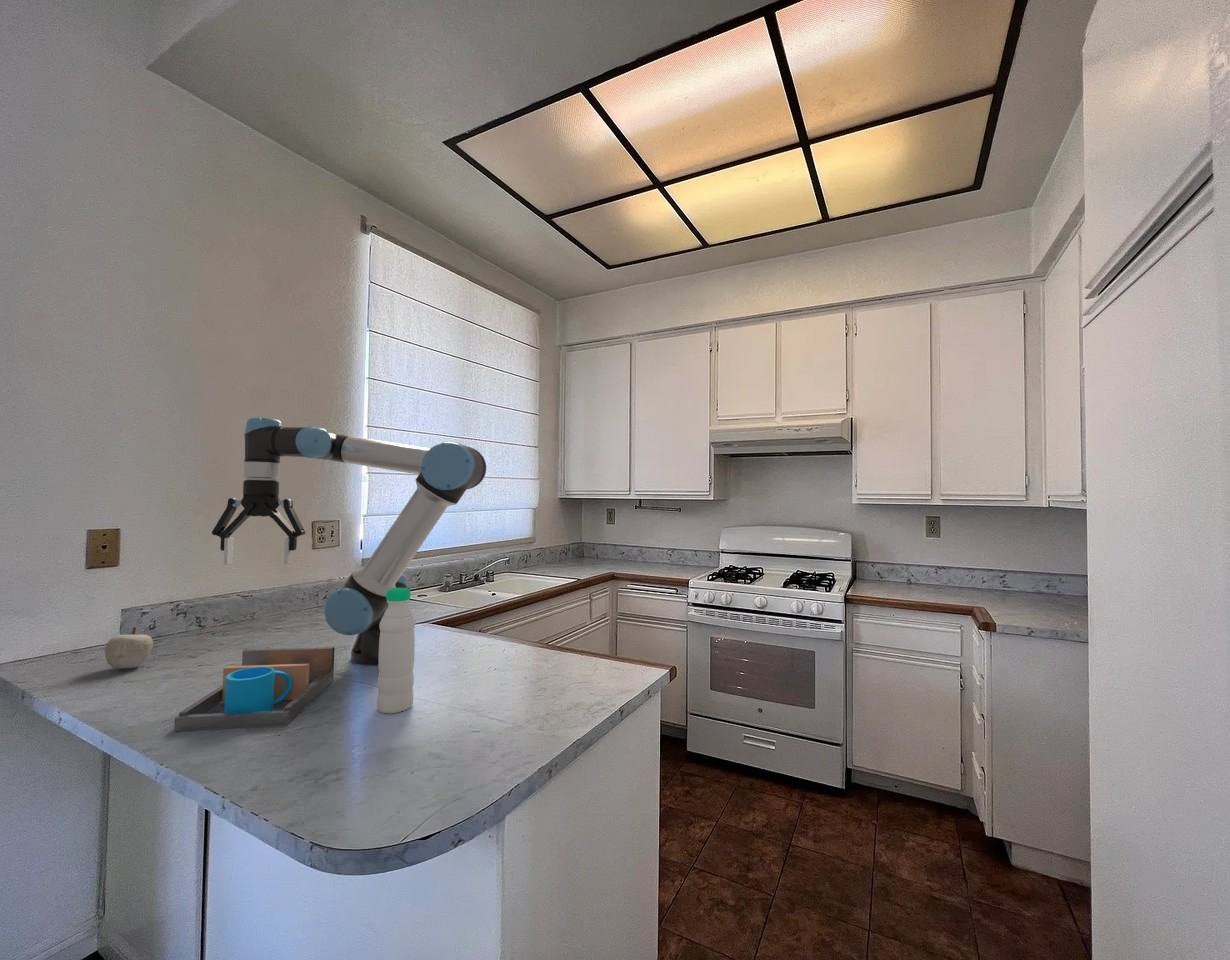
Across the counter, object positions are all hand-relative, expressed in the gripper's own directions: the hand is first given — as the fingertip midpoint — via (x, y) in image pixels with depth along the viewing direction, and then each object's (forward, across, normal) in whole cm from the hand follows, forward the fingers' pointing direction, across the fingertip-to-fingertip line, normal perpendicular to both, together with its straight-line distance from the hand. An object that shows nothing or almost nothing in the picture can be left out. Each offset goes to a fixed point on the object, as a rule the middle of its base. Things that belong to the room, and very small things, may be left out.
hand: (258, 563), depth 131 cm
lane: (+27, -12, +22) cm, 36 cm away
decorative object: (+27, +31, -6) cm, 42 cm away
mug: (+27, -12, +26) cm, 39 cm away
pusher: (+26, -12, +19) cm, 35 cm away
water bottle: (+27, -39, +28) cm, 55 cm away
